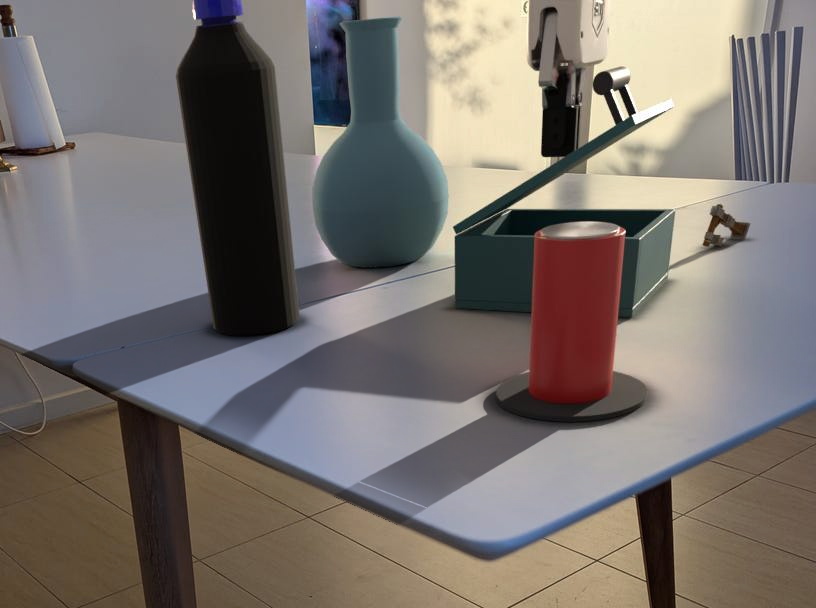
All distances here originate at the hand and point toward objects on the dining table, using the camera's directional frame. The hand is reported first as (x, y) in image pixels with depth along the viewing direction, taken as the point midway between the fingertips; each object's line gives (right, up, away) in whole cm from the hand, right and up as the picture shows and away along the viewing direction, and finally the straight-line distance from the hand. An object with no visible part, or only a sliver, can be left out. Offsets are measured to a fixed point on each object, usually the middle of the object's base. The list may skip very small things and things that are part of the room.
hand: (559, 155), depth 87 cm
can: (-4, -27, -18) cm, 33 cm away
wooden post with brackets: (+24, 0, +20) cm, 31 cm away
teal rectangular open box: (+2, -11, +7) cm, 13 cm away
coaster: (-4, -28, -18) cm, 33 cm away
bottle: (-29, -14, +6) cm, 33 cm away
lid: (+1, -1, +1) cm, 1 cm away
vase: (-16, +2, +28) cm, 32 cm away
